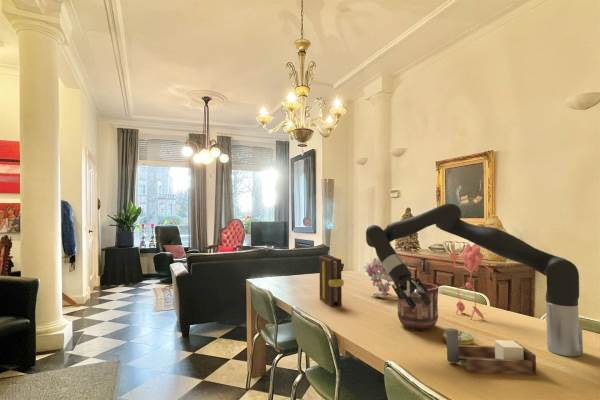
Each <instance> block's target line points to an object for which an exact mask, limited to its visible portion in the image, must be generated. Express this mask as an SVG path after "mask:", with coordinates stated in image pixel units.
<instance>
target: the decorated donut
mask: <svg viewBox="0 0 600 400" xmlns="http://www.w3.org/2000/svg"><path fill="white" fill-rule="evenodd" d="M442 338H443V340H444V341H445V342H446V343H447V331H444V332H443V334H442ZM458 338H459V345H471V346H473V344H474V341H475V339H474V338H475V336H473V334H471V333H469V332H467V331H462V330H458Z"/></svg>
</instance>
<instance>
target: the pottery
mask: <svg viewBox="0 0 600 400" xmlns="http://www.w3.org/2000/svg"><path fill="white" fill-rule="evenodd" d="M422 283H423V285H424V286H425V287H426V288H427V290H428V291H427V292H426V295H427V296H428V298H429V299H430V301H431V303H430V304H429V305H426V304H425V303H424V301H423V300H422V299H421V296H419V295H418V294H415V293H413V292H410V293H409V295H410V296H409V297H411V298H412V299H413V301H414V302H415V304H416V307H415V308H414V309H411V307H410V306H409V305H408V303H407V302H406V300H404V299H399V297H398V296H397V295H396V296H397V317H398V319H399V321H400V323H401V324H402V325H403V327H404V328H406V329H408V330H412V331H417V332H424V331H430V330H431V329H432V328H433V327H434V326H435V325H436V324H437V322H438V320H439V310H438V309H439V308H438V307H439V305H438V301H439V300H438V299H439V289H440V288H439V286H438V285H436V284H432V283H428V282H422ZM416 289H417V287H416ZM421 289H423V288H422V287H421ZM423 290H424V289H423ZM418 292H420V291H418ZM399 293H400V292H399ZM420 293H421V292H420ZM400 295H401V293H400Z"/></svg>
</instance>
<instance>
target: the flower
mask: <svg viewBox="0 0 600 400" xmlns="http://www.w3.org/2000/svg"><path fill="white" fill-rule="evenodd" d="M362 268H364V269H365V270H364V272H365V273H367V274H368V276H369V277H370V280H371V282H372V286H373V287H377V289H378V292H380V293H378V292H375V293H373V295H372V297H374V296H377V297H379V298H382V299H386V297H387V294H388V292H389V291H390V286H392V285H393V284H392V283H391V282H393V280H392V279H391V277H390V276H389V274H388V273H387V271H386V270H385V268H384V266H383V264H382V262H381V261H380V259H379V258H376V257H374V258H373V259H372V262H370V263H369V262H366V265H363V266H362ZM382 279H384V280H385V281H386V282H384V283H383V282H382ZM381 292H382V294H381Z"/></svg>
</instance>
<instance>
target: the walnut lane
mask: <svg viewBox="0 0 600 400" xmlns="http://www.w3.org/2000/svg"><path fill="white" fill-rule="evenodd" d="M514 341H515V342H516V343H517V344H519V345H520V346H522V347H523V353H524V360H510V359H495V345H494V346H493V345H459V357H468V358H466V361H459V363H460V364H461V366H462V367H463V369H465V371H466V372H467V373H468V372H470V373H471V374H473V373H474V374H492V373H493V375H495V374H497V375H498V374H499V375H516V374H527V375H526V376H537V360H536V359H537V358H536V357H537V356H536V354H535V353H533V352H532V351H530V350H528V349H527V348H526V347H525V346H523V345H522V344H520V343H519V342H517V341H516V340H514ZM484 358H494V359H484Z"/></svg>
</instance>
